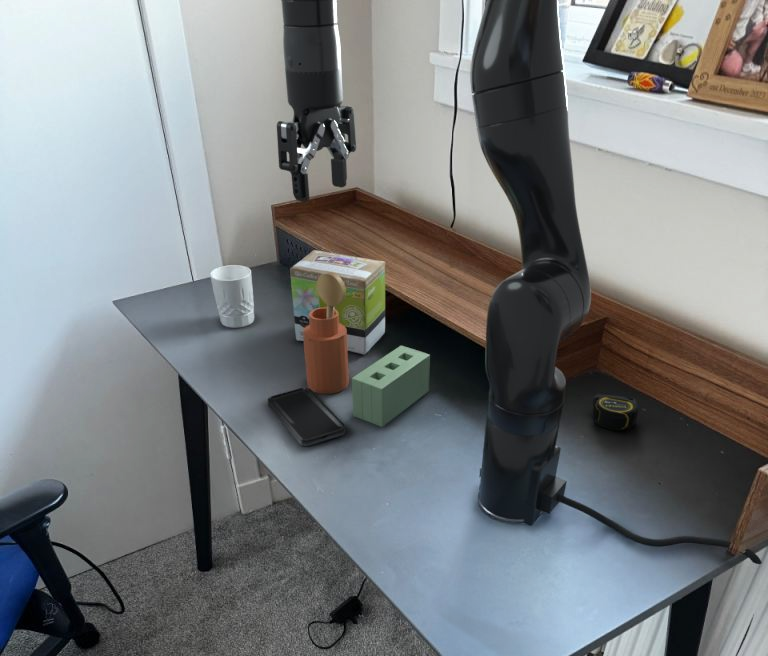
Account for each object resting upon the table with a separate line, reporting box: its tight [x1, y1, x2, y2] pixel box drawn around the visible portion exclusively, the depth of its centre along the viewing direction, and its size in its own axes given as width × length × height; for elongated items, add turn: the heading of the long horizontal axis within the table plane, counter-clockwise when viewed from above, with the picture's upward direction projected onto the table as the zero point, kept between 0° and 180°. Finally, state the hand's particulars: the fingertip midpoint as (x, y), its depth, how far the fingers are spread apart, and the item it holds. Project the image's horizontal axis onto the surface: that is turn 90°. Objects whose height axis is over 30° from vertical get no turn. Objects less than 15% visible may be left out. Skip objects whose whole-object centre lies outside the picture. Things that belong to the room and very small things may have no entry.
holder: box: [351, 345, 431, 428], centre depth 119 cm, size 6×14×7 cm, turn 144°
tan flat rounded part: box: [317, 272, 346, 319], centre depth 119 cm, size 5×1×20 cm, turn 54°
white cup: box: [209, 264, 255, 329], centre depth 143 cm, size 8×8×10 cm
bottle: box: [303, 307, 350, 395], centre depth 122 cm, size 7×7×13 cm
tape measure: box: [592, 393, 639, 431], centre depth 115 cm, size 7×7×4 cm
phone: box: [267, 386, 346, 447], centre depth 117 cm, size 8×1×15 cm
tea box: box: [289, 249, 386, 356], centre depth 135 cm, size 15×10×15 cm
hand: (321, 193), depth 106 cm, fingers open, 8 cm apart
